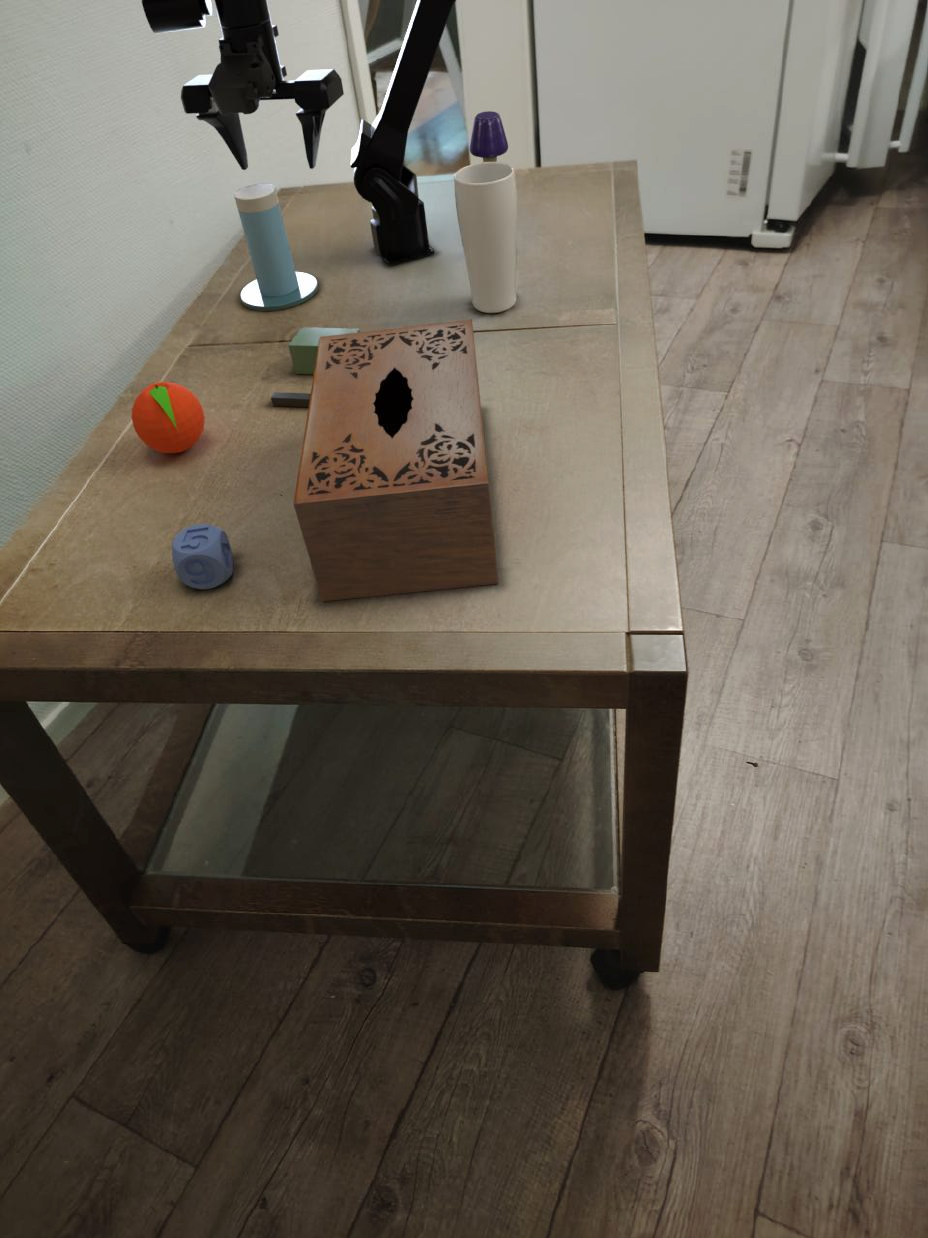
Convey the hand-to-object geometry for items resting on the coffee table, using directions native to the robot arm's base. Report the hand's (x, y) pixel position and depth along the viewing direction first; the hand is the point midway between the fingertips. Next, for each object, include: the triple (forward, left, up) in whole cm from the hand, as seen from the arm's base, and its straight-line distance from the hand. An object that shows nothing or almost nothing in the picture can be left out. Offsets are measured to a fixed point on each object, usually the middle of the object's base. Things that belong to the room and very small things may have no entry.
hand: (278, 168), depth 112 cm
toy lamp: (-23, +13, -13) cm, 29 cm away
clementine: (+23, +37, -13) cm, 45 cm away
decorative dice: (+24, +58, -13) cm, 63 cm away
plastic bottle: (+2, +3, -10) cm, 11 cm away
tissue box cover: (+5, +56, -13) cm, 58 cm away
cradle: (+6, +31, -12) cm, 34 cm away
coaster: (+5, +6, -13) cm, 15 cm away
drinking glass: (-17, +26, -13) cm, 33 cm away
